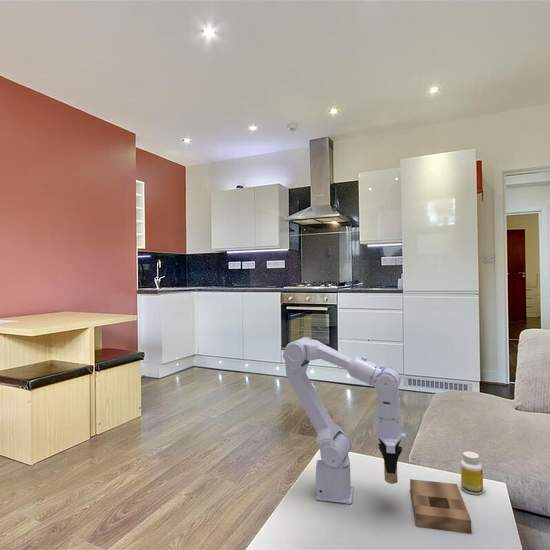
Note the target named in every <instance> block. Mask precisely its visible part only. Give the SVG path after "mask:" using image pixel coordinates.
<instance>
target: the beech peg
mask: <svg viewBox="0 0 550 550" xmlns="http://www.w3.org/2000/svg"><path fill="white" fill-rule="evenodd" d="M383 467H384V470H383V471H384V472H383V473H384V474H383V475H384V481H385V482H386V483H387V484H390V485H393V484H397V483H398V480H399V479H398V467H397V468H396V473H395V474H393V473H387V472H386V468H385V463H384V462H383Z"/></svg>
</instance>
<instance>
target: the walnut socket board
mask: <svg viewBox="0 0 550 550" xmlns="http://www.w3.org/2000/svg"><path fill="white" fill-rule="evenodd" d="M409 485H410V486H409V487H410V490H409V491H410V496H411V501H412V507H413V515H414V519H415V526H416V527H418V528H427V529H435V530H440V531H441V530H442V531H450V532H458V533H465V534H472V519H471V516H470V514H469V511H468V509H467V506H466V504H465V502H464V498H463V497H462V494H461V491H460V489H459V486H458V484H457V483H453V482H452V483H451V482H444V481H443V482H440V481H433V480H432V481H429V480H421V479H412V478H411V479H409Z"/></svg>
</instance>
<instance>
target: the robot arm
mask: <svg viewBox="0 0 550 550" xmlns="http://www.w3.org/2000/svg"><path fill="white" fill-rule="evenodd" d="M282 357H283V359H284V362H285V363H284V364H285V375H286V378H287V381H288V382H289V384H290V386H291V387H292V389H293V391H294V393H295V395H296V397H297V399H298V400H299V403H301V407H302V408H303V410H304V411H305V413H306V416H307V417H308V420H309V421H310V422H311V424H312V427H314V430H315V431H316V434H317V435H316V445H317V447H318V449H319V453H320V459H317V460H316V465H315V493H316V495H315V499H316V500H317V501H324V502H331V503H338V504H339V503H340V504H348V505H351V504H352V502H353V495H354V487H353V486H351V484H352V483H351V480H352V479H351V460H350V457H349V453H350V452H351V450H352V446H353V443H352V440H351V438H350V437H349V435H348V434H347V433H345V432H344V431H343V430H342V428H341V426H340V425H338V424H336V423H335V422H334V421H333V420H332V418H331V416H330V414H329V412H328V410H327V408H326V407H325V405H324V403H323V401H322V399H321V398H320V396H319V394H318V393H317V391H316V389H315V387H314V385H313V384H312V382H311V380H310V378H309V377H308V375H307V369H308V366H309V364H310V362H311V361H315V360H322V361H325V362H327V363H329V364H332V365H335V366H337V367H340V368H342V369H345V370H347V372H348V375H349V376H350V377H352V378H354V379H356V380H358V381H360V382H362V383H364V384H367V385H369V386H371V387H374V389H375V391H376V392H377V395H376V396H377V398H376V403H377V405H376V407H377V409H376V410H377V411H376V412H377V437H378V440H379V442H380V443H378V449H379V451H380V453H381V455H382V459H383V464H384V463H385V468H386V472H387V473H393V474H395V473H396V468H397V469H398V463H399V462H398V460H399V458H400V455H401V454H402V452H403V447H402V446H399V445H400V443H401V442H402V441H401V440H402V439H407V434H406V432H402V424H401V420H402V419H401V418H402V417H401V416H402V415H401V399H400V389H399V386H400V384H401V381H402V378H401V375H400V373H399V372H398V371H397V369H395V368H393V367H391V366H387V367H386V366H385V365H384V364H380V365H379V364H377V363H375V362H372V361H370V360H368V357H367V356H364V355H362V356H359V355H357V356H355V357H350V356H349V355H346V354H344V353H342V352H340V351H338V350H336V349H334V348H332V347H330V346H328V345H326V344H324V343H322V342H321V341H319V340H316V339H312V338H311V337H309V336H303V337H300V338H299V339H297V340H295V341H293V340H292V341H290V342H289V343H287V344H286V346H285V348H284V350H283V354H282Z"/></svg>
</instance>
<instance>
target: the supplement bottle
mask: <svg viewBox="0 0 550 550" xmlns="http://www.w3.org/2000/svg"><path fill="white" fill-rule="evenodd" d="M462 457H463V459H462V460H461V461H460V486H461V490H462V491H464V492H465V493H467V494H469V495H475V496H476V495H477V496H480V495H481V494H483V492H484V480H483V479H484V478H483V476H484V475H483V465H482V463H480V455H479V454H478V453H476V452H473V451H464V452H463V455H462Z"/></svg>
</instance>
